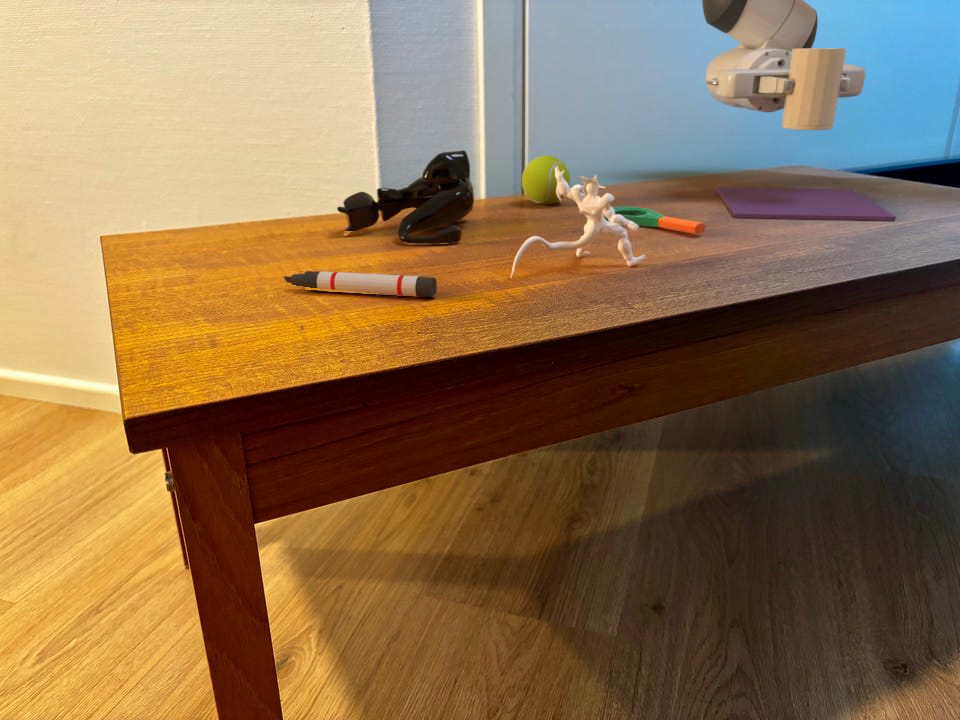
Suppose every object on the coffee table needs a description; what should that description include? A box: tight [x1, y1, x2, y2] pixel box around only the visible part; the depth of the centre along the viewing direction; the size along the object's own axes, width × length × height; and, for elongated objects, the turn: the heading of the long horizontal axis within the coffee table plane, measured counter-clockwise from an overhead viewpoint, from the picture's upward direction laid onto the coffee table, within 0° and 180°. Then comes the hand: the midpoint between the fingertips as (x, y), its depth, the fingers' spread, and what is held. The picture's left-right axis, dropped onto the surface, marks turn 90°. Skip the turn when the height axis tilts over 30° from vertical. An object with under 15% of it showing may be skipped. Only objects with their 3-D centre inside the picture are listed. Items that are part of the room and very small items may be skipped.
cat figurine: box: [336, 150, 475, 244], centre depth 91 cm, size 10×14×18 cm
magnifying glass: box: [604, 206, 706, 235], centre depth 94 cm, size 15×6×2 cm, turn 35°
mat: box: [716, 186, 897, 222], centre depth 106 cm, size 20×20×1 cm
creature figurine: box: [510, 165, 647, 279], centre depth 75 cm, size 12×11×12 cm
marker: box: [283, 270, 438, 298], centre depth 70 cm, size 15×2×2 cm, turn 77°
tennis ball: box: [521, 155, 571, 206], centre depth 108 cm, size 7×7×7 cm
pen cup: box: [781, 47, 847, 131], centre depth 99 cm, size 6×6×10 cm
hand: (817, 85), depth 98 cm, fingers closed on pen cup, 6 cm apart
